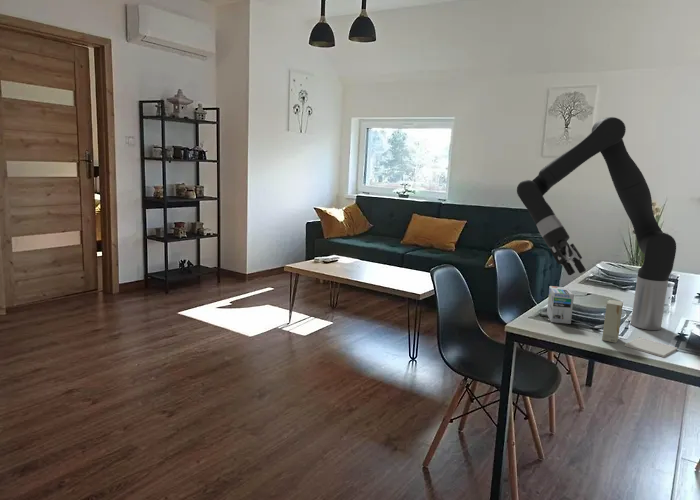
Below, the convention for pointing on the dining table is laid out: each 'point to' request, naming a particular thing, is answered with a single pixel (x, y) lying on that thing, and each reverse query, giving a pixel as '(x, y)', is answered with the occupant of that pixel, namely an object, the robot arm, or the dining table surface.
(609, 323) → the skincare box
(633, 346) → the grey mat
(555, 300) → the light bulb box
